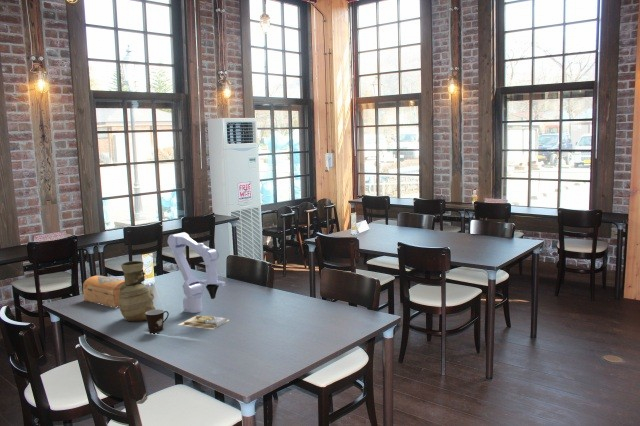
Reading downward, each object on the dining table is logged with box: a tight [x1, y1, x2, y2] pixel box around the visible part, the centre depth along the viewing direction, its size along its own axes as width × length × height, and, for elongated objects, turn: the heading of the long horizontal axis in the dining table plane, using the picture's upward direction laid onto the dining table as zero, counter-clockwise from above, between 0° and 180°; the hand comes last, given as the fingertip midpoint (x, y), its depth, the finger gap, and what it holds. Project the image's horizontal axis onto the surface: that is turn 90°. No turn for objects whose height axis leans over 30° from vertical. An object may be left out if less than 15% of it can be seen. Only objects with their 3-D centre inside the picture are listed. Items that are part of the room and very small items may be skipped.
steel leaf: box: [204, 316, 226, 328], centre depth 288 cm, size 7×8×2 cm
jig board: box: [177, 314, 230, 330], centre depth 291 cm, size 21×15×2 cm
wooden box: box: [82, 274, 125, 308], centre depth 337 cm, size 30×16×14 cm, turn 54°
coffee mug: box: [145, 308, 170, 335], centre depth 282 cm, size 12×9×10 cm
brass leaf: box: [195, 315, 213, 323], centre depth 290 cm, size 7×8×2 cm
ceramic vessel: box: [118, 260, 156, 323], centre depth 303 cm, size 19×21×30 cm
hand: (213, 298), depth 301 cm, fingers closed
